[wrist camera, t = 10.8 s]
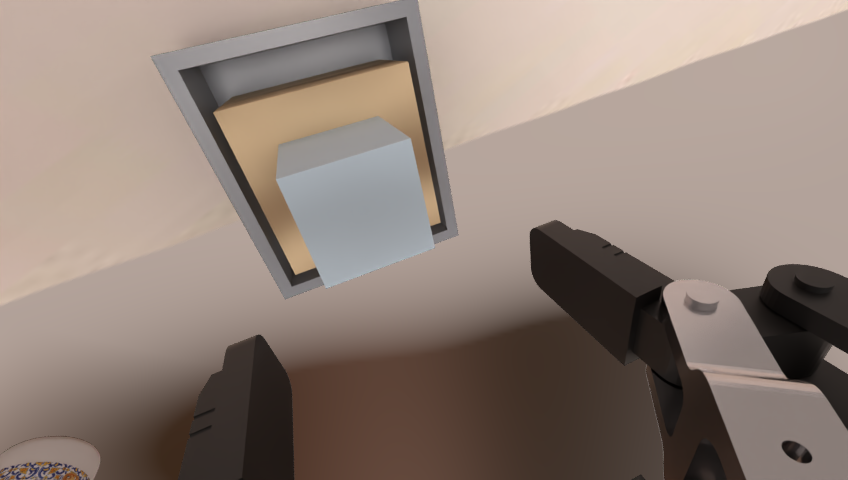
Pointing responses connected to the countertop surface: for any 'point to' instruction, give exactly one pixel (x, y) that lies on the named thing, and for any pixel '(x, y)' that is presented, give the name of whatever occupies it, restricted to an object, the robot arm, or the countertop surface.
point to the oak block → (314, 113)
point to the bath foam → (50, 460)
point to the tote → (289, 61)
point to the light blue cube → (355, 198)
